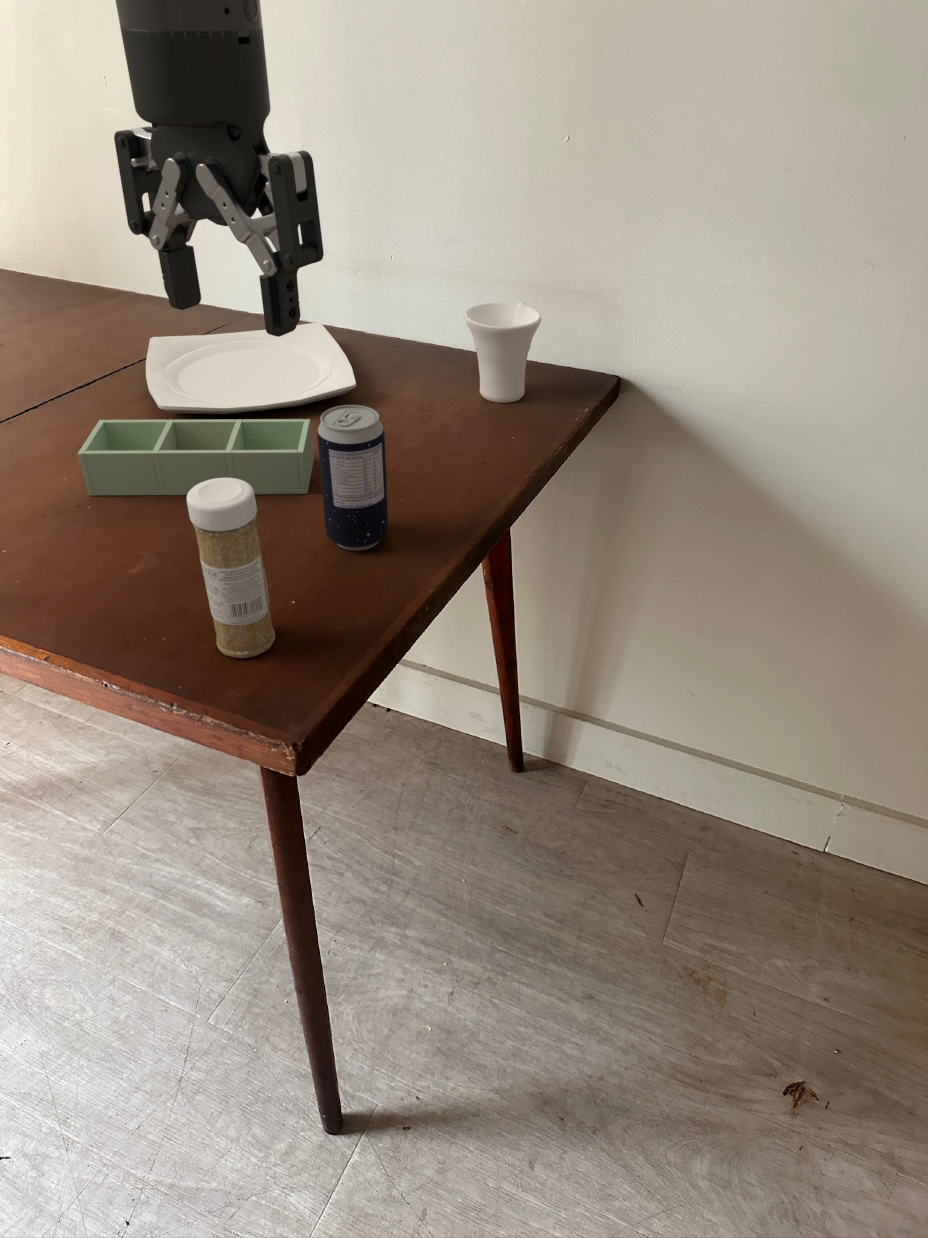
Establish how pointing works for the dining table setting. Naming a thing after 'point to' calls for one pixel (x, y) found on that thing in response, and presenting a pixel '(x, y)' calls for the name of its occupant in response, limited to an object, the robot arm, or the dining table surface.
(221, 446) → the tray
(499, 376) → the cup
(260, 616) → the spice jar
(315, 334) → the plate
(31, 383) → the dining table surface
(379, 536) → the beverage can
